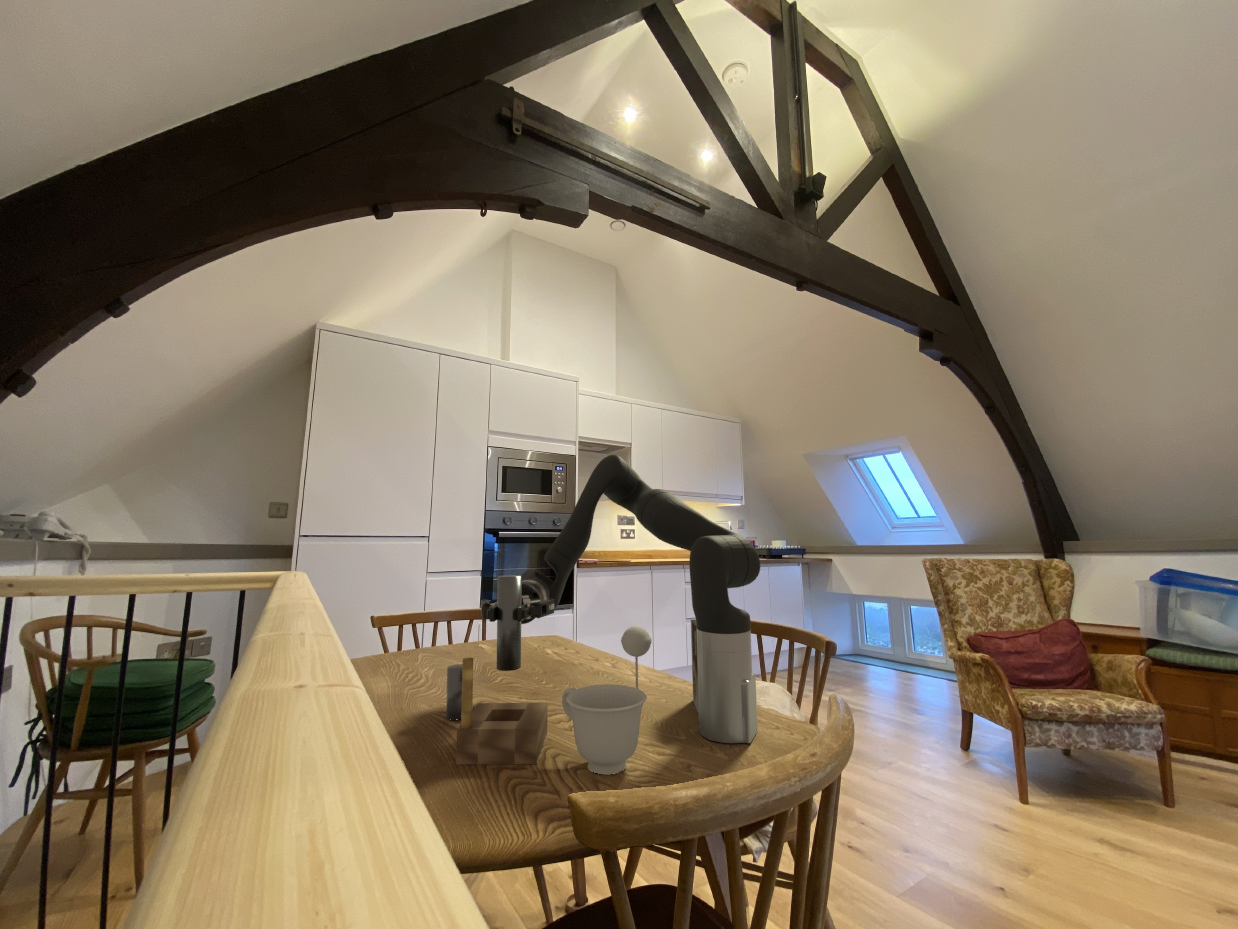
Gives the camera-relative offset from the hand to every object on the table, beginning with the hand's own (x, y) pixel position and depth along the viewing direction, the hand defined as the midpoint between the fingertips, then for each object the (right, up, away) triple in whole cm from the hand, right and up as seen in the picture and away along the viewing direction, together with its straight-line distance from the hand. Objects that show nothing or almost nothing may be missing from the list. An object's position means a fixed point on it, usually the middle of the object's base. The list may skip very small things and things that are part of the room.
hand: (505, 615), depth 88 cm
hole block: (0, -21, -2) cm, 21 cm away
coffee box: (+36, -23, +16) cm, 46 cm away
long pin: (0, -9, +2) cm, 9 cm away
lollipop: (+22, -23, +19) cm, 37 cm away
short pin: (-12, -23, +13) cm, 28 cm away
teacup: (+16, -20, -8) cm, 27 cm away
